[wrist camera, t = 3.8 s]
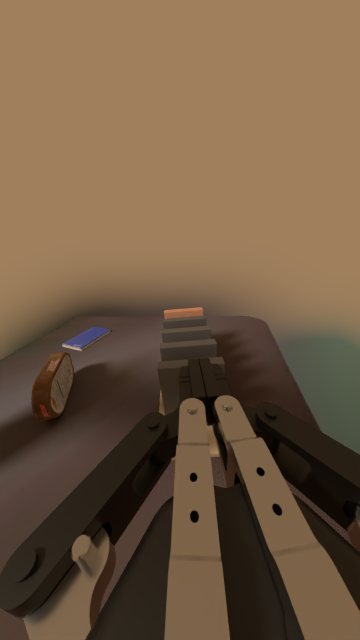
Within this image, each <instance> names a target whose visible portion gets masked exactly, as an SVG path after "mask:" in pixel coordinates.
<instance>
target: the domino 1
mask: <svg viewBox="0 0 360 640" xmlns="http://www.w3.org/2000/svg"><path fill="white" fill-rule="evenodd" d="M209 359H210V362H211V364H216V363H217V364H218V365H219V366H220V367H221V368H222V370H223V373H224V375H225V362H224V360H223V357H211V358H209ZM181 366H188V359H187V360H175V361H163V362H159V363H158V374H159V380H160V387H161V393H162V400H163V407H164V413H165V415H167V414H169V413H171V412H173V411H174V410H176V409H177V407H178V406H179V403H180V395H179V372H178V371H179V370H180V368H181ZM207 426H208V424H207ZM209 426H211V425H209Z"/></svg>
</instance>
